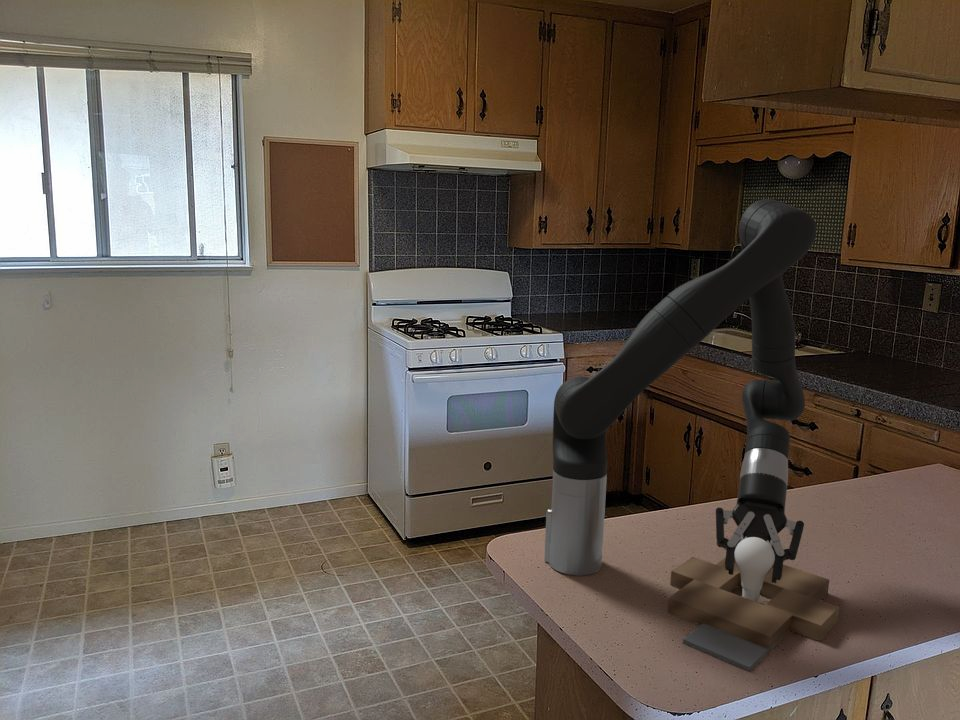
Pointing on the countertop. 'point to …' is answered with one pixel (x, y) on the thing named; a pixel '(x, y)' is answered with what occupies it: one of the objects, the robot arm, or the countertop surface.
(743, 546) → the lightbulb
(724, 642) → the slate mat
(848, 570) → the countertop surface
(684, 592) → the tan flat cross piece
